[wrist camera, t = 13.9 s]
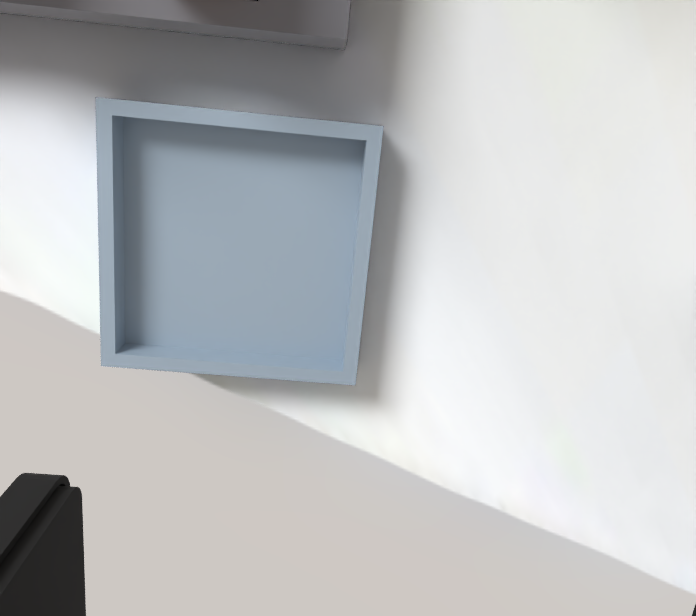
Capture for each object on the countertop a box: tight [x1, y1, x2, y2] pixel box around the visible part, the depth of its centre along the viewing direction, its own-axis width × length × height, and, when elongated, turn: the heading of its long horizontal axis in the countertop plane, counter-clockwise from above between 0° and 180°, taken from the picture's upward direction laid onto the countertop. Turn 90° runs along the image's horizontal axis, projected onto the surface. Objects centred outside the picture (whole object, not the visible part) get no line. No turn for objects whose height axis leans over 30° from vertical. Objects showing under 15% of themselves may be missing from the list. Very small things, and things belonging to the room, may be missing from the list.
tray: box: [96, 97, 384, 385], centre depth 35 cm, size 15×15×3 cm
